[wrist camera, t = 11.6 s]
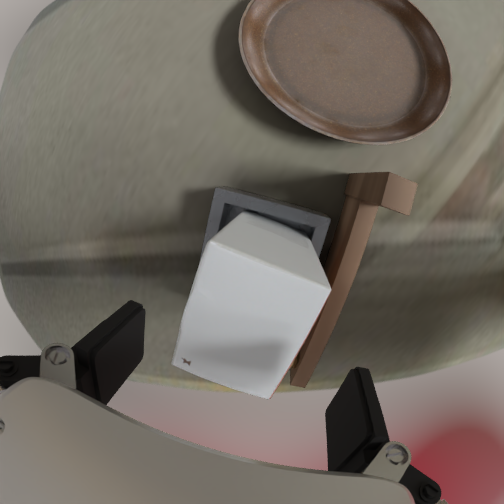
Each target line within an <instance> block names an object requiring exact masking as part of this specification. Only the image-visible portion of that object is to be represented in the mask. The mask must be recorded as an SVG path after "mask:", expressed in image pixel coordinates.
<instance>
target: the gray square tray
mask: <svg viewBox="0 0 504 504" xmlns="http://www.w3.org/2000/svg"><path fill="white" fill-rule="evenodd" d="M244 210H248V211H251V212H253V213H256V214H258V215H261V216H264V217H266V218H269V219H271V220H274V221H276V222H279V223H282V224H284V225H287V226H289V227H292V228H294V229H297V230H299V231H302V232H304V233H307V234H308V236H309V238H310V241H311V243H312V245H313V247H314V249H315V252H316V254H317V256H318V258H319V256H320V253H321V250H322V247H323V244H324V240H325V237H326V234H327V231H328V228H329V224H330V221H331V219H330V218H329V217H328V216H327V215H326V214H325V213H322V212H318V211H315V210H312V209H308V208H305V207H301V206H298V205H294V204H291V203H287V202H284V201H280V200H276V199H273V198H269V197H265V196H261V195H257V194H254V193H250V192H246V191H242V190H238V189H234V188H230V187H225V186H223V187H217V188H215V192H214V196H213V201H212V205H211V210H210V214H209V219H208V223H207V228H206V233H205V238H204V242H203V247H202V252H201V257H200V261H201V258H202V255H203V252H204V249H205V246H206V244H207V242H208V241H209V240H210V239H211V238H212V237H214V236H215V235H216V234H217V233H218V232H219V231H221V230H222V229H223V228H224V227H225V226H226V225H227V224H229V223H230V222H231V221H232V220H233V219H234V218H236V217H237V216H238V215H239V214H240V213H242V212H243V211H244ZM199 264H200V262H199Z"/></svg>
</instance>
